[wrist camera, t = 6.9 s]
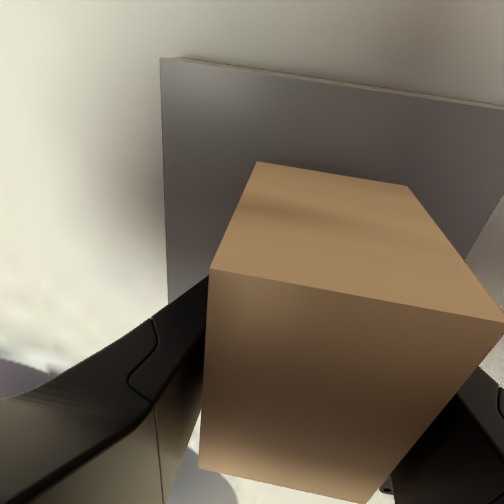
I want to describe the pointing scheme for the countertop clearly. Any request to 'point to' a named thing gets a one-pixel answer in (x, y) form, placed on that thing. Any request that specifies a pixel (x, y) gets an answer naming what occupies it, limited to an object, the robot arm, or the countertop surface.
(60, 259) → the countertop surface
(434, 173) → the grey baseplate
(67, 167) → the countertop surface
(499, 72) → the countertop surface
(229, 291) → the oak brick
